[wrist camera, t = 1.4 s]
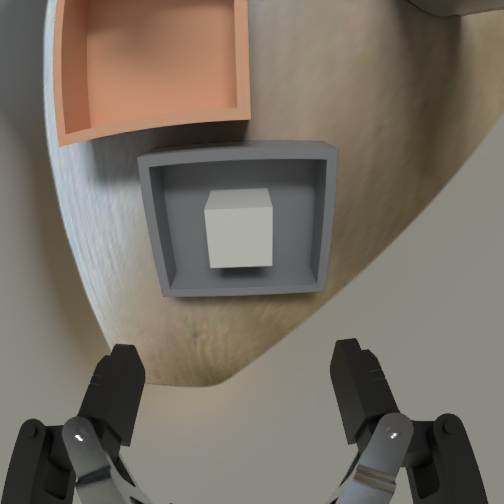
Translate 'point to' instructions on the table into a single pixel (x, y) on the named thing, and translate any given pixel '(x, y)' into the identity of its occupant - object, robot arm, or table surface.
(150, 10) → the terracotta tray
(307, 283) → the charcoal bin
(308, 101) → the table surface
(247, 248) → the off-white cube block
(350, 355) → the robot arm
